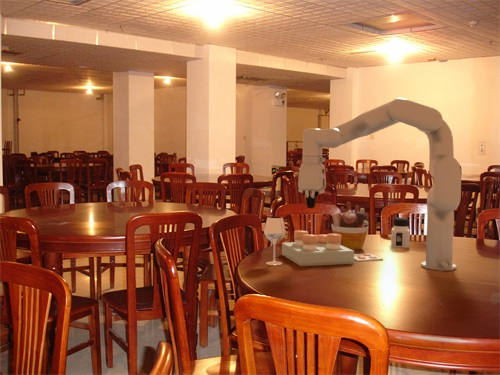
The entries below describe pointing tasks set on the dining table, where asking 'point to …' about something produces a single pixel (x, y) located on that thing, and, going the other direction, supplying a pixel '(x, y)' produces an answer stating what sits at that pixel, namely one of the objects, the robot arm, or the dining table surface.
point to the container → (400, 233)
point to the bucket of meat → (351, 227)
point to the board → (317, 255)
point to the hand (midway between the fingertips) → (310, 207)
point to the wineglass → (274, 234)
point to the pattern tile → (366, 257)
